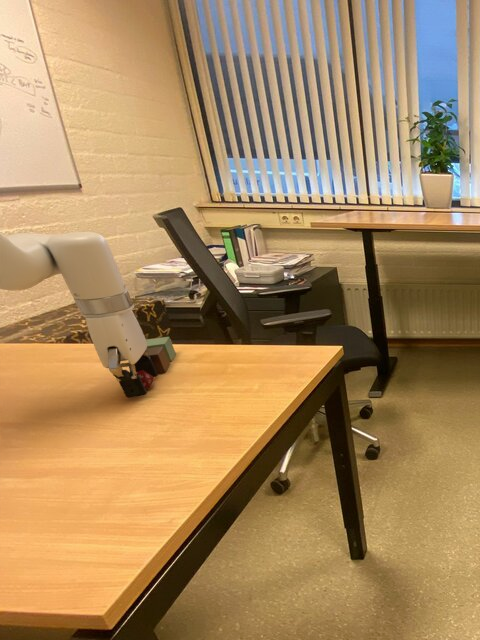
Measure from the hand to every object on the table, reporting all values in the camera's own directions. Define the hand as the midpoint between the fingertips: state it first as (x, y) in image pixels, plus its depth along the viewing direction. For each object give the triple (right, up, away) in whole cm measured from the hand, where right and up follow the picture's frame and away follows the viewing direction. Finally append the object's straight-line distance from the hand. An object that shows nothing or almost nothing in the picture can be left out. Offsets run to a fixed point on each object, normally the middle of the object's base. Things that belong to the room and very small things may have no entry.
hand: (143, 385), depth 85 cm
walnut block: (-4, +3, +8) cm, 9 cm away
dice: (0, -1, 0) cm, 1 cm away
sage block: (-6, +6, +12) cm, 15 cm away
